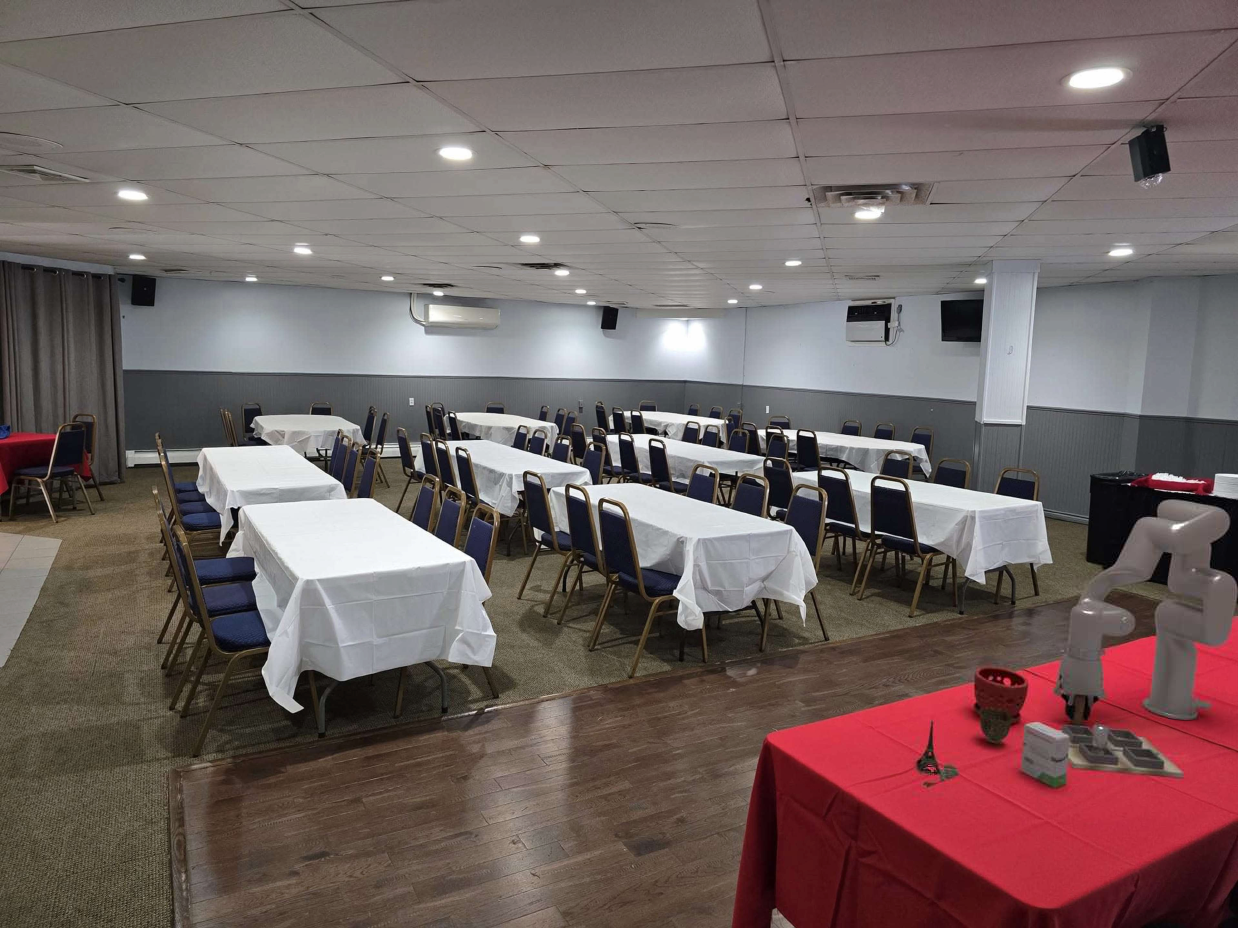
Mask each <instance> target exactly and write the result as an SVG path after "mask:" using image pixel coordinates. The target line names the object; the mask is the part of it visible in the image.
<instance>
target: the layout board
mask: <svg viewBox="0 0 1238 928" xmlns="http://www.w3.org/2000/svg"><path fill="white" fill-rule="evenodd" d="M1056 730H1057V731H1059V732H1062V733H1064V734H1066V735H1068V736H1070V739H1069V752H1068V764H1069V765H1070V766H1071V767H1072V768H1073V769H1079V770H1082V769H1083V770H1089V771H1090V770H1092V771H1103V772H1112V773H1113V772H1114V773H1121V774H1122V773H1124V774H1135V775H1146V776H1159V777H1168V778H1169V777H1170V778H1180V779H1183V778H1184V772H1183V771H1182V770H1181V769H1180V768H1179V767H1178V766H1177V765H1175V764H1174V762H1172V761H1171V760H1170V759H1169V758H1168V757H1166V755H1164V753H1162V752H1161V751H1160V750H1159V749H1157V747H1155V746H1154V744H1152V743H1151V742H1150V741H1149V740H1148V739H1147V738H1146V737H1142V736H1141V737H1140V736H1138V735H1136V734H1135V733H1134V732H1133V731H1132V730H1130V729H1120V728H1119V729H1118V728H1109V727H1108V726H1107V725H1104V724H1101V723H1094V724H1093V729H1091V728H1090V727H1089V726H1075V725H1073V724H1071V725H1069V724H1062V729H1061V730H1059V729H1056Z"/></svg>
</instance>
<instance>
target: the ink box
mask: <svg viewBox="0 0 1238 928" xmlns="http://www.w3.org/2000/svg"><path fill="white" fill-rule="evenodd" d="M1057 730H1058V729H1055V728H1052V727H1051V726H1048V725H1045V724H1043V723H1042V722H1039V721H1035V722H1029V723H1026V724H1024V725H1023V740H1022V752H1021V753H1022V754H1021V764H1020V765H1021V767H1020V771H1021V772H1022V773H1024V774H1026V775H1027V776H1030V777H1032V778H1034V779H1036V780H1038V781H1039V782H1041V783H1044V784H1046V785H1048V786H1049V787H1051V788H1054V789H1056V788H1058V787H1061V786H1064V785H1066V784H1067V775H1068V764H1069V762H1068V752H1069V739H1070V736H1068V735H1066V734H1064V733H1062V732H1059V731H1057Z"/></svg>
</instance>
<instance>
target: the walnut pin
mask: <svg viewBox="0 0 1238 928" xmlns="http://www.w3.org/2000/svg"><path fill="white" fill-rule="evenodd" d="M1085 698H1086V696H1085V695H1075V696H1074V701H1073V705H1074V706H1075V711H1074V719H1073V720H1069V723H1070V724H1071V725H1072V726H1083V725H1084V719H1083V718H1084V708H1085Z"/></svg>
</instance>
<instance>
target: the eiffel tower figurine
mask: <svg viewBox="0 0 1238 928" xmlns="http://www.w3.org/2000/svg"><path fill="white" fill-rule="evenodd" d="M933 734H934V721H933V717H931V721H930V729H929V735H928V740H927V746H926V748H925V750H924V753H922V756H921V757H919V758H918V760H916V761H915V766H916V769H917V772H918V773H919V774H925V775H926V774H927V775H933V776H939V777H940V778H939V779H940V781H939V782H929V781H924V782H923V784H922V785H923V786H924V787H926V788H928V787H931V786H933V785H937V784H939V783H942V782H944V781H947V780H951V779H953V778H954V777H958V776H959V774H960V772H959V770H958V769H959V768H957V767H956V766H955V765H952V764H948V763H947V764H945V765H943V766H944V769H942V770H940V769H939V768H938V767H940V764H939V763H938V762H937V757H935V755H937V756H939V755H938V754H936V753H935V749H934V743H933V741H934V740H933V737H934V736H933ZM934 754H935V755H934ZM928 765H933V766H928ZM926 767H935V768H936V770H935V769H934V772H931V770H929V769H927V768H926ZM924 768H926V769H924ZM933 773H934V774H933Z"/></svg>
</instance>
